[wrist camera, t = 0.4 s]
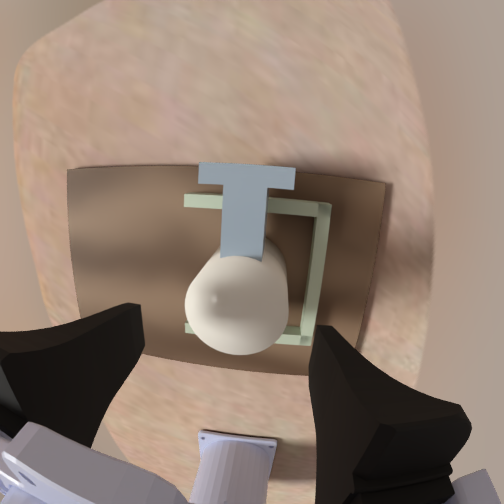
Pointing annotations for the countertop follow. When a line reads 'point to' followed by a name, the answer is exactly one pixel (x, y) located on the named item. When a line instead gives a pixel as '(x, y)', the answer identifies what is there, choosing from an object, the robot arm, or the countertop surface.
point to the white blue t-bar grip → (242, 264)
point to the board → (204, 246)
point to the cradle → (316, 262)
